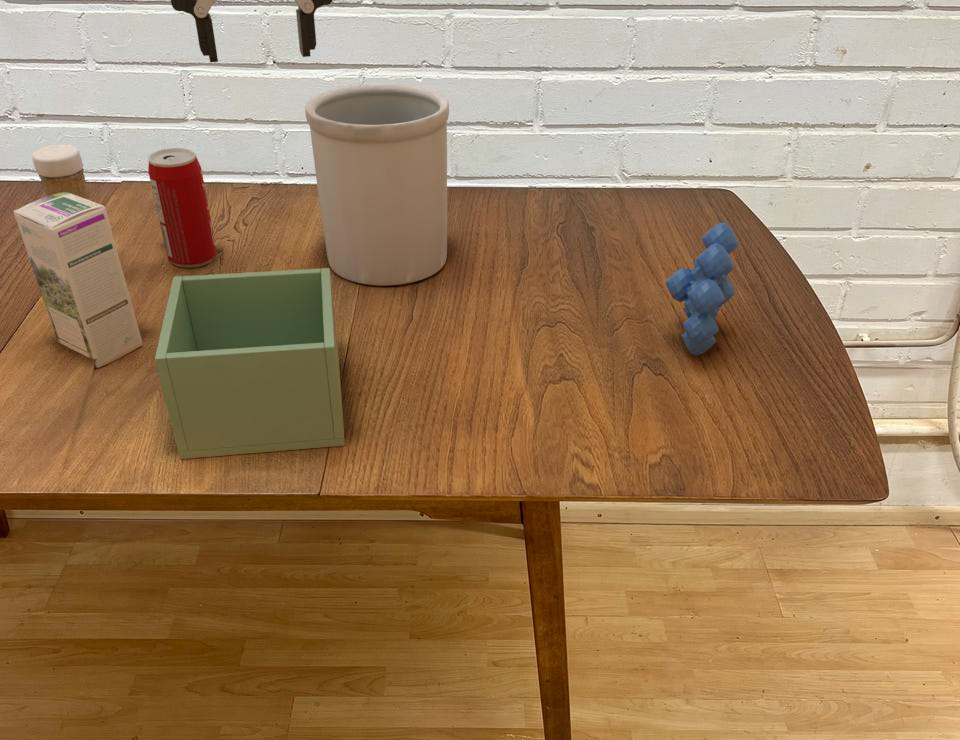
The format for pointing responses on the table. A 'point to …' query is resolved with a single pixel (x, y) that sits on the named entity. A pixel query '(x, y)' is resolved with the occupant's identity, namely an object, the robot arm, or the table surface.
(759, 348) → the table surface
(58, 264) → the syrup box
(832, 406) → the table surface
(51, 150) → the sprinkles bottle
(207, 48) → the robot arm
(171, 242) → the soda can
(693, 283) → the grapes
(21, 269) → the table surface
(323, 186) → the utensil holder
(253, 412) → the bin
